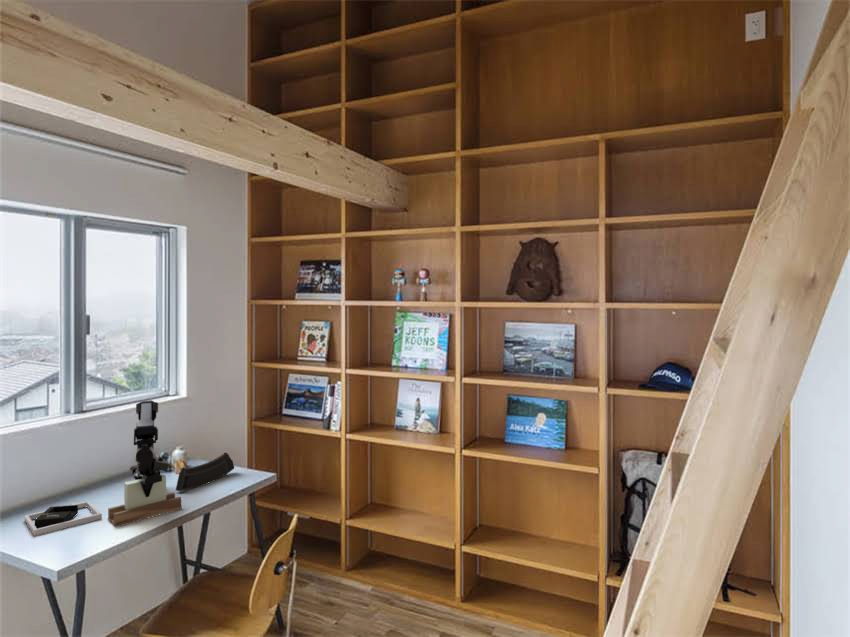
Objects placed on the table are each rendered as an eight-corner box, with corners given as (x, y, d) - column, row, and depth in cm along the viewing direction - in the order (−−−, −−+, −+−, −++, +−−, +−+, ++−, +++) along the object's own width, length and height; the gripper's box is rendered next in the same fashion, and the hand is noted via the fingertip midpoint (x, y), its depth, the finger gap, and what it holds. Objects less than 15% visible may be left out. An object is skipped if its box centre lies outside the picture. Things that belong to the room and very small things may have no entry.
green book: (124, 508, 201) (124, 482, 201) (162, 498, 211) (162, 474, 211) (127, 510, 199) (127, 484, 198) (166, 500, 209) (165, 476, 208)
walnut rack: (107, 519, 199) (107, 508, 199) (173, 502, 217) (173, 492, 217) (115, 526, 193) (115, 514, 193) (181, 508, 210) (181, 497, 210)
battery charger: (64, 528, 192) (64, 517, 192) (34, 531, 190) (34, 520, 190) (78, 514, 205) (78, 504, 205) (50, 516, 202) (50, 506, 202)
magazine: (175, 475, 224) (227, 439, 250) (170, 474, 226) (222, 438, 251) (185, 508, 229) (235, 470, 255) (180, 507, 231) (230, 469, 256)
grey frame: (24, 520, 198) (24, 515, 197) (88, 505, 213) (88, 500, 213) (34, 536, 185) (34, 530, 185) (101, 518, 200) (101, 513, 200)
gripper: (176, 457, 204) (176, 496, 204) (158, 447, 217) (158, 484, 217) (145, 463, 196) (145, 504, 196) (129, 452, 209) (129, 491, 209)
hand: (145, 495), depth 205 cm, fingers closed on green book, 3 cm apart
